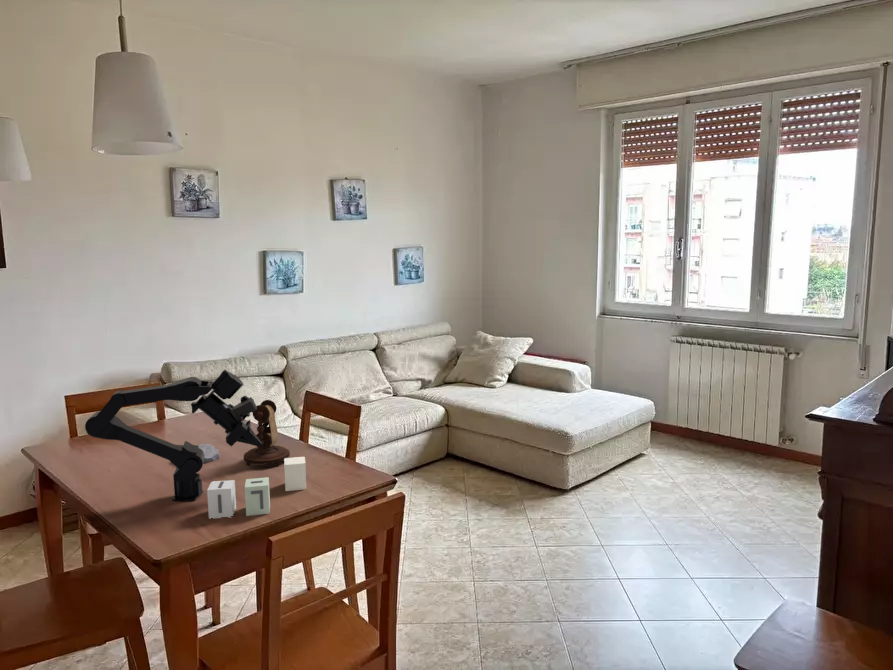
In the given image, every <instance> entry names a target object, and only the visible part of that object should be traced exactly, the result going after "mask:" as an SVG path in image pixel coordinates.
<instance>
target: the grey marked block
mask: <svg viewBox="0 0 893 670" xmlns="http://www.w3.org/2000/svg"><path fill="white" fill-rule="evenodd" d="M206 491H207V507H208V508H207V509H208V511H207V512H208V519H209V520H211V518H213V519H222V518H221V517H228V518H232V517H231V516H233V517H234V515H233V514H235V512H234V511H236V510H237V499H236V498H237V497H236V481H235V479H231V480H229V479H228V480H216V481H210V484H209V486H208V488H207V489H206ZM235 509H236V510H235Z"/></svg>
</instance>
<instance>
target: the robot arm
mask: <svg viewBox="0 0 893 670" xmlns="http://www.w3.org/2000/svg"><path fill="white" fill-rule="evenodd" d="M243 386H244V382H243V381H242V379H240V377H238V376H237V375H236V374H234V373H232V372H230V371H228V370H227V369H223V371H221V372H220V374H219V376H217V378H215V380H213V381H212V380H211V381H210V380H201V379H199V378H198V377H196V376H190V377H186V378H182V379H179V380H177V381H174V382H171V383H168V384H163V385H157V386H150V387H149V386H148V387H143V388H136V389H135V388H134V389H128V390H127V389H126V390H118V391H116V392H114V393H113V394H112V395H111V397H110V399H109V400H108V401H107V402H106V403H105V405H104V406H103V407H102V409H100V410H97V411H95V413H93V414H92V415H91V416H90V417H89V418H88V419H87V420H86V421H85V425H84V429H85V431H86V434H87V435H88V436H90V437H93V438H98V439H102V440H111V441H120V442H122V443H124V444H127V445H129V446H132V447H135V448H137V449H139V450H142V451H145V452H147V453H150V454H153V455H154V456H158V457H160V458H163V459H165V460H167V461H169V462H170V463H171V464H172V465H174V467H175V470H174V473H173V475H172V476H173V477H172V478H173V491H174V496H173V497H172V500H171V501H178V502H179V501H184V502H185V501H186V502H187V501H196V500H197V498H199V497H200V496H201V495H202V494H203V493H204V490H203V483H202V479H201V478H200V477H201V476H200V473H198V472H200V470H202V468H203V465H204V463H203V462H204V459H205V455H204V452H203V451H202V450H201V449H200V448H199V446H198V445H199V444H198V445H197V444H196V445H195V444H192V443H191V442H189V441H187V440H185V441H184V443H183V444H174V443H172V442H169V441H167V440H164V439H162V438H159V437H157V436H154V435H152V434H149V433H147V432H145V431H142V430H139V429H137V428H134V427H131V426H130V425H127V424H126V423H125V422H123V421H122V420H121V418H119V417H117V416H116V415H117V414H118V413H119V411H120V410H121V409H122V408H123V407H126V406H134V405H140V404H147V403H155V402H162V401H174V402H175V401H176V402H191V403H190V407H191V413H192V414H195V413H196V412H197V411H198V410H200V411H202V412H203V414H205V415H206V416H208V417H209V418H210V419H211V420H213V424H214V425H216V426H217V425H219V426H220V427H221V428H222V429H223V430H225V431H224V433H225V434H226V436H225V443H226V444H227V445H229V446H230V447H233V446H234V445H235V444H236V443H237V442H238V443H243V444H245V445H246V444H247V445H251V446H255V447H257V446H258V447H260V446H261V445H262V443H261V441H260V440H259V439H258V437H257V436H256V435H257V434H256V433H255V432H254V431H253V429H252V427H251V426H252V425H251V419H248V420H247V421H245V419H246V418H250V416H251V413H253V412H254V411H255V410H257V408H256V407H257V406H258V405H257V404H256V402H255V400H254V399H253V397H251V396H250V397H249V396H247V395H243V396H241V397H240V402H238V403H237V404H235V405H233V404H231V403H228V404H227V403H226V402H225V401H223V400H227V399H228V400H230V399H232V398H233V396H234V395H236V393H237V392H238V391H239V390H240V389H241V388H242V387H243ZM199 397H200V398H199ZM197 399H198V400H197Z"/></svg>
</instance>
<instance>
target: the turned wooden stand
mask: <svg viewBox="0 0 893 670" xmlns="http://www.w3.org/2000/svg"><path fill="white" fill-rule="evenodd" d="M256 406H257V407H256V408H257V410H255V411H254V412H252V416H253V419H254V420H255V421H256V422H257V428H256V432H257V434H255V435H256V436H257V437H258V439H259V440H260V441H261V443H262V445H261V446H260V447H258V446H255V447H254V448H251V449H249V450H248V451H246V452H244V454H243V461H244V462H245V463H246V466H247V465H251V464H252V465H270V464H271V465H272V464H274V466H275V467H277V466H278V465H279V462H283V461H284V458H290V455H291V453H290V450H289V449H288V448H286V447H284V446H281V445H275V444H276V443H277V442H278V438H279V433H278V428H277V427H278V426H277V422H276V421H277V420H276V412H277V405H276V403H275V402H274V401H273V400H270V399H265V400H263V401H262V402H261V403H260V404H259V405H256Z"/></svg>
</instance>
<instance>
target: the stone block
mask: <svg viewBox="0 0 893 670" xmlns="http://www.w3.org/2000/svg"><path fill="white" fill-rule="evenodd" d="M198 446H199V448H200V449H201V450H202V451H203V452H204V455H205V459H204V462H203V464H207V463H211V462H210V461H212V462H215V461H216V459H217V460H219V459H220V457H221V456H220V455H221V454H220V450H219V449H218V448H216V447H215V446H214V445H212V444H210V443H201V444H198ZM214 460H215V461H214ZM206 462H207V463H206Z"/></svg>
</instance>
